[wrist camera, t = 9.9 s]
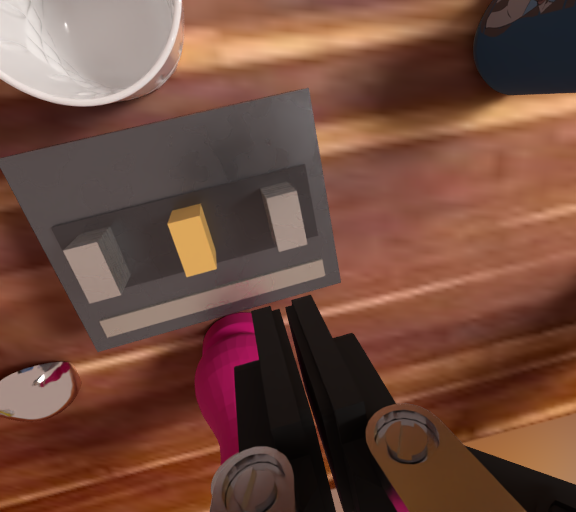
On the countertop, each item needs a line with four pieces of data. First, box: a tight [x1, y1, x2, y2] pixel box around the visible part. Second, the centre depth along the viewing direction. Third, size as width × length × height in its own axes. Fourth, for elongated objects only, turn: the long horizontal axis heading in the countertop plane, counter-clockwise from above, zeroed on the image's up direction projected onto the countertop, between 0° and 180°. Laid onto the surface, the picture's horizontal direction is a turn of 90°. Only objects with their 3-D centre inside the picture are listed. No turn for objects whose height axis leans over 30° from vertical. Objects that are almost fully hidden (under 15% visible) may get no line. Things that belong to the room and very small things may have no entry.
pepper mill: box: [195, 312, 259, 494], centre depth 21 cm, size 7×7×20 cm
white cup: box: [0, 0, 184, 106], centre depth 17 cm, size 8×8×10 cm
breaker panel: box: [0, 88, 341, 352], centre depth 22 cm, size 16×12×8 cm
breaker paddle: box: [168, 204, 217, 277], centre depth 20 cm, size 2×3×2 cm, turn 12°
